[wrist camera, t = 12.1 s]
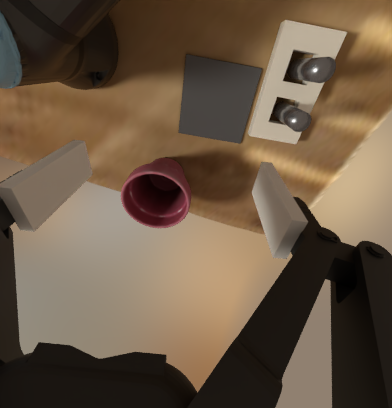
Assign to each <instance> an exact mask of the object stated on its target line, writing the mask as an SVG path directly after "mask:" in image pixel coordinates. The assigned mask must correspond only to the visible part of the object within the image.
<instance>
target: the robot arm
mask: <svg viewBox="0 0 392 408" xmlns="http://www.w3.org/2000/svg"><path fill="white" fill-rule="evenodd" d="M119 1H120V0H0V88H5V89H6V88H14V87H15V86H24V85H32V84H41V83H49V82H60V83H63V84H65V85H67V86H69V87H72V88H76V89H83V90H87V89H93V88H98V87H100V86H102V85H104V84H105V83H107V82H108V81H109V80H110V78H111V77H112V75H113V74H114V72H115V69H116V66H117V61H118V43H117V37H116V33H115V30H114V27H113V24H112V22H111V19H110V17H109V15H108V12H109V11H110V10H111V9H112V8H113V7H114V6H115V5H116V4H117V3H118V2H119ZM92 175H93V174H92V170H91V166H90V161H89V157H88V153H87V149H86V144H85V141H80V140H73V141H71V142H70V143H68V144H66V145H65V146H63V147H61V148H59V149H58V150H56V151H54V152H53V153H51V154H49V155H48V156H46V157H44V158H42V159H41V160H39V161H37V162H36V163H34V164H32V165H31V166H29V167H27V168H25V169H24V170H21V171H19V172H17V173H15V174H14V175H13V176H10V177H9V178H7V180H4V181H2V182H0V408H275V407H276V404H277V402H278V399H279V397H280V394H281V390H282V377H283V374H284V372H285V369H286V367H287V365H288V363H289V360H290V358H291V356H292V353H293V351H294V348H295V347H296V344H297V342H298V340H299V338H300V335H301V332H302V331H303V328H304V326H305V324H306V321H307V319H308V317H309V315H310V312H311V310H312V308H313V305H314V303H315V301H316V299H317V296H318V294H319V292H320V289H321V287H322V285H323V283H324V280H325V279H328V280H330V281H331V349H332V408H392V255H391V254H390V253H389V252H388V251H387V250H386V249H385V248H383V247H382V246H380V245H378V244H375V243H373V242H369V241H362V242H360V243H359V244H358V245H357V246H356V247H354V246H351V245H349V244H345V243H342V242H341V241H340V239H339V237H338V236H337V235H336V234H335V233H334V232H332V231H331V230H329V229H326V228H323V227H321V226H320V225H319V223H318V221H317V220H316V219H315V217H314V216H313V214H311V211H310V210H309V209H308V207H307V205H306V204H305V202H303V201H302V200H301V199H300V198H298V197H293V196H292V195H291V193H290V192H289V190H288V188H287V187H286V185H285V183H284V182H283V180H282V179H281V177H280V175H279V174H278V172H277V170H276V169H275V167H274V166H273V164H272V163H268V162H261V165H260V168H259V172H258V175H257V178H256V181H255V184H254V187H253V190H252V195H253V198H254V201H255V204H256V207H257V210H258V213H259V216H260V220H261V223H262V226H263V229H264V232H265V235H266V238H267V241H268V244H269V247H270V250H271V253H272V256H273V258H283V259H287V257H288V256H289V254H290V252H291V253H292V255H293V256H292V258H291V259H290V261H289V262H288V264H287V265H286V267H285V268H284V270H283V271H282V273H281V274H280V275H279V277H278V279H277V280H276V281H275V283H274V284H273V286H272V287H271V289H270V290H269V292H268V293H267V294H266V296H265V297H264V299H263V300H262V302H261V303H260V305H259V306H258V308H257V309H256V310H255V312H254V313H253V315H252V316H251V318H250V319H249V321H248V322H247V324H246V325H245V326H244V328H243V329H242V331H241V332H240V334H239V335H238V337H237V338H236V339H235V340H234V341H233V342H232V344H231V345H230V347H229V348H228V350H227V351H226V352H225V354H224V355H223V357H222V358H221V360H220V361H219V363H218V364H217V365H216V367H215V368H214V370H213V371H212V373H211V374H210V376H209V377H208V379H207V380H206V381H205V383H204V384H203V386H202V387H201V389H200V390H199V392H198V393H197V391H196V390H195V388H194V386H193V385H192V384H191V382H190V381H189V380H188V379H187V377H186V376H185V375H184V374H183V373H182V372H181V371H179V370H178V369H177V368H175V367H173V366H172V365H170V364H168V363H166V355H162V354H152V353H142V352H132V353H127V354H123V355H118V356H113V357H108V358H103V359H98V358H95V357H93V356H91V355H89V354H87V353H85V352H83V351H81V350H79V349H76V348H75V347H73V346H70V345H60V344H51V343H41V342H40V343H38V345H37V346H36V348H35V349H34V351H33V352H32V353H29V354H26V355H24V354H23V352H22V350H21V347H20V342H19V327H18V310H17V294H16V279H15V263H14V247H13V232H12V230H11V228H10V227H9V226H11V225H12V224H13V223H14V222H16V224H17V226H18V227H19V229H20V230H25V231H33V232H34V231H35V230H36V229H38V228H39V227H40V226H41V225H42V224H43V223H44V222H45V221H46V220H47V219H48V218H49V217H50V216H51V215H52V214H53V213H54V212H55V211H56V210H57V209H58V208H59V207H60V206H61V205H62V204H63V203H64V202H65V201H66V200H67V199H68V198H69V197H70V196H71V195H72V194H73V193H74V192H75V191H76V190H77V189H78V188H79V187H80V186H81V185H82V184H83V183H84V182H86V181H87V180H88V179H89V178H90V177H91V176H92Z"/></svg>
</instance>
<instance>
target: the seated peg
mask: <svg viewBox="0 0 392 408" xmlns="http://www.w3.org/2000/svg"><path fill="white" fill-rule="evenodd" d="M272 112H273V115H274V116H275V117H276V118H278V119H279V120H280V121H282V122H283V123H284V124H286V125H287V126H288V127H290V128H291V129H292V130H293V131H295V132H302V131H304V130H306V129H307V128H308V127H309V125H310V123H311V116H310V114H309V113H307V112H305V111H303V110H301V109H299V108H296V107H294V106H292V105H290V104H288V103H286V102H284V101H280V102H278V103H276V104H275V105H274V107H273V111H272Z"/></svg>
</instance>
